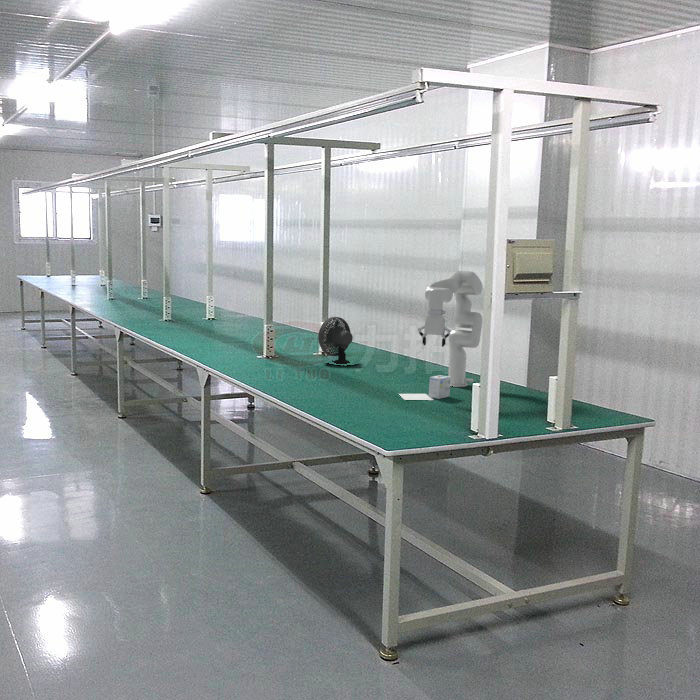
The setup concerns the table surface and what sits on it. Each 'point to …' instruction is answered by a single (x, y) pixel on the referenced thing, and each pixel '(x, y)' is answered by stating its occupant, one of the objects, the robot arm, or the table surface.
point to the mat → (415, 397)
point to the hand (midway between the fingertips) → (433, 345)
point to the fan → (335, 338)
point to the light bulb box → (439, 386)
